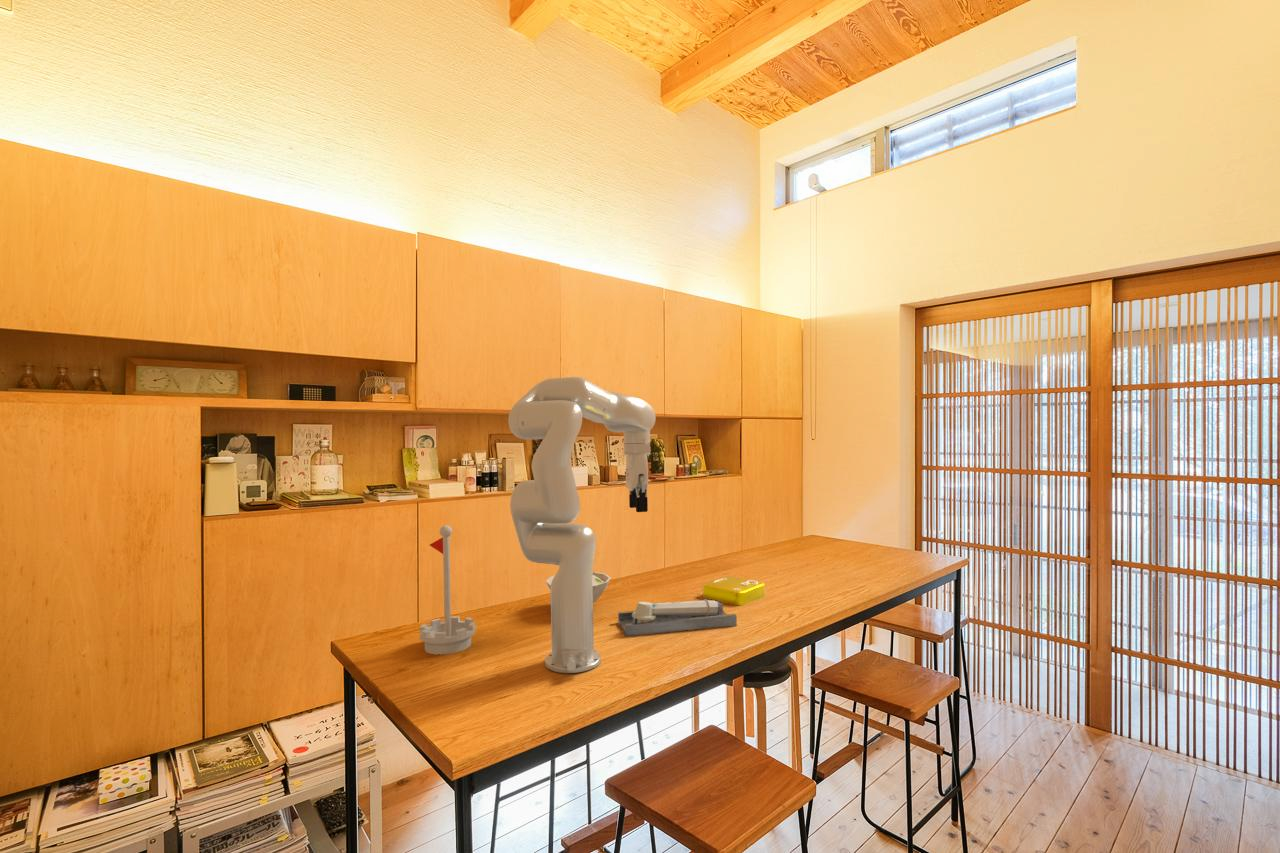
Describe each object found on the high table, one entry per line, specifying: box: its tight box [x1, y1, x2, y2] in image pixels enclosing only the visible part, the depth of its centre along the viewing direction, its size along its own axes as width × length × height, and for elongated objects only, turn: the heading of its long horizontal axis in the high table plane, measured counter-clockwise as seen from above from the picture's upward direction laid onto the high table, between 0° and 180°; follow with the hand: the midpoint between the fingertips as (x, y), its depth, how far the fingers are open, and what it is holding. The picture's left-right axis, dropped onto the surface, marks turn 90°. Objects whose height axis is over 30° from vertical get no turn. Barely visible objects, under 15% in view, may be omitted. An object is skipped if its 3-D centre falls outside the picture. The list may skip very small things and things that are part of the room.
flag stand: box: [419, 524, 476, 656], centre depth 145 cm, size 13×13×30 cm
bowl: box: [545, 571, 612, 604], centre depth 173 cm, size 19×19×10 cm
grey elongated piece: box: [632, 598, 720, 623], centre depth 158 cm, size 5×7×25 cm
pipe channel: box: [617, 602, 738, 638], centre depth 158 cm, size 11×30×3 cm, turn 103°
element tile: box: [702, 575, 766, 606], centre depth 184 cm, size 15×15×5 cm
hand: (638, 509), depth 167 cm, fingers open, 9 cm apart
